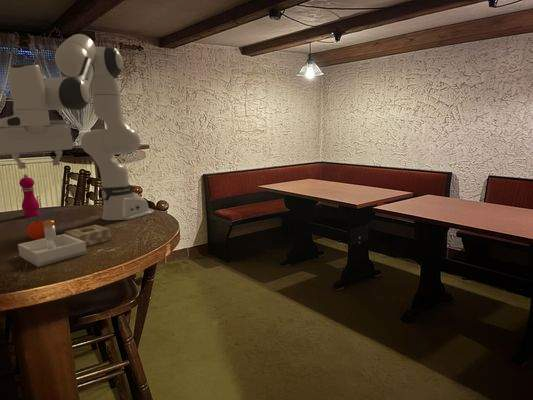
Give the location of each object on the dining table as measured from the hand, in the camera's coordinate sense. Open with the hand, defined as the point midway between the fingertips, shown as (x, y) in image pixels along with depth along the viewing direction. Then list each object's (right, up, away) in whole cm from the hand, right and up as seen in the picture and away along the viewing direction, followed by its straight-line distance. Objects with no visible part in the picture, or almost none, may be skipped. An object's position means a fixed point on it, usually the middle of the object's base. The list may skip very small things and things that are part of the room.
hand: (39, 166), depth 115 cm
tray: (+1, -27, +5) cm, 28 cm away
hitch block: (+6, -25, +19) cm, 32 cm away
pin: (+1, -26, +5) cm, 27 cm away
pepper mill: (-44, -18, +67) cm, 82 cm away
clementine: (-15, -25, +24) cm, 38 cm away
